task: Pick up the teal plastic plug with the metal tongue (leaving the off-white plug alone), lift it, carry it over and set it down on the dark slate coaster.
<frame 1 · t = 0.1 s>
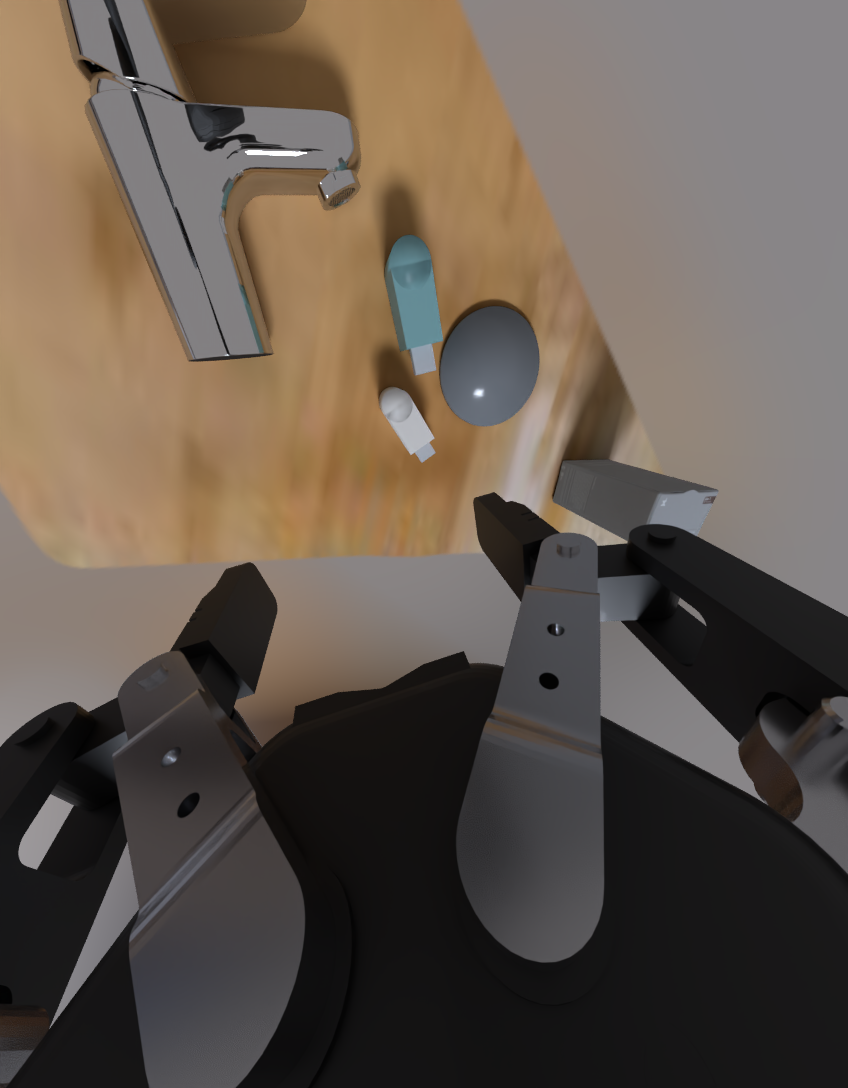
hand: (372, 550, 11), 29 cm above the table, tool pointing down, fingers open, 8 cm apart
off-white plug: (404, 421, 37), on the table
chrome faucet: (263, 217, 27), on the table
skincare box: (580, 477, 46), on the table
teal plug: (409, 313, 32), on the table
slate coaster: (489, 371, 36), on the table
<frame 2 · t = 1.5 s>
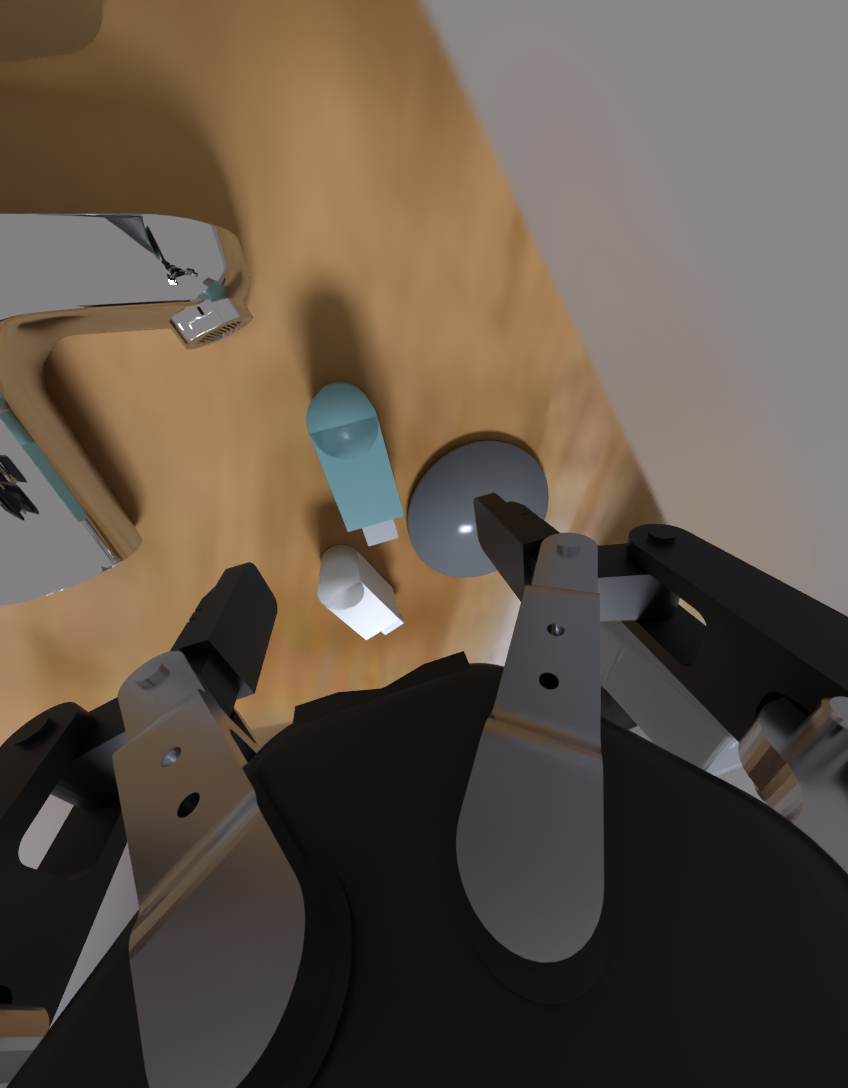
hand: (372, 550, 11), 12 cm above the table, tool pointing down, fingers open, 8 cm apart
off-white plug: (360, 580, 27), on the table
chrome faucet: (103, 351, 16), on the table
skincare box: (597, 609, 36), on the table
teal plug: (358, 458, 21), on the table
slate coaster: (477, 514, 26), on the table
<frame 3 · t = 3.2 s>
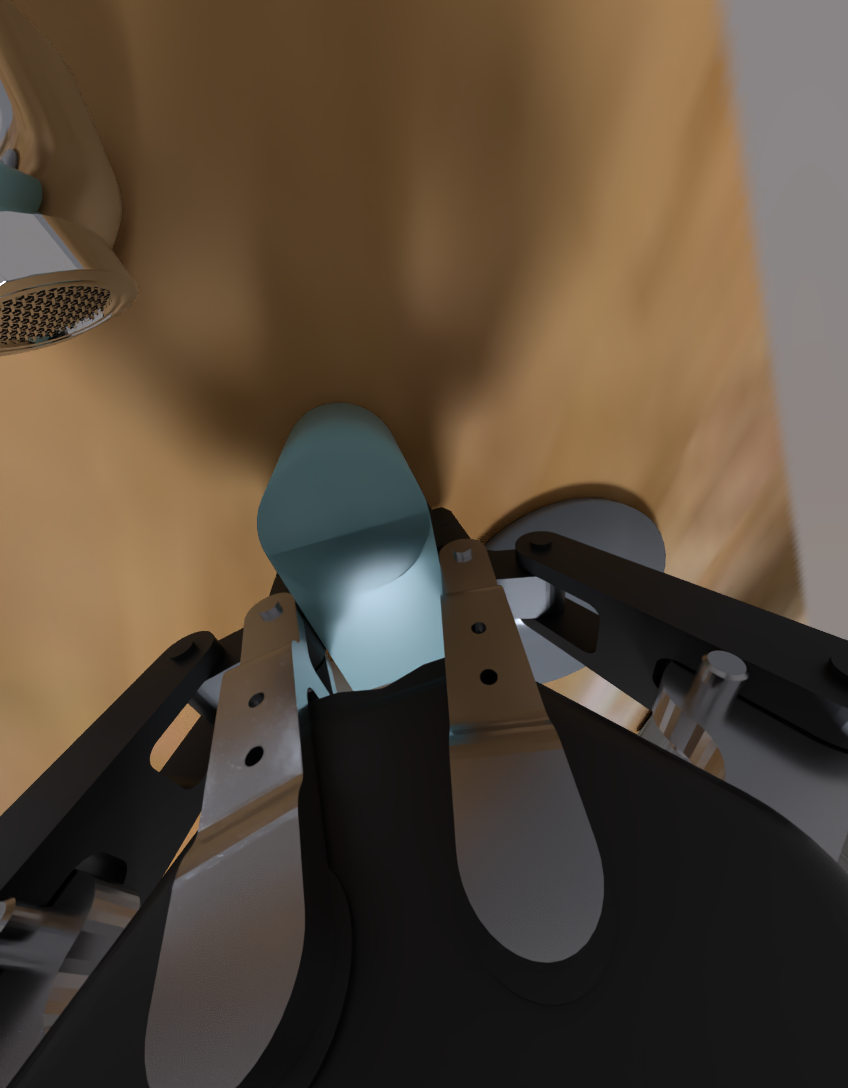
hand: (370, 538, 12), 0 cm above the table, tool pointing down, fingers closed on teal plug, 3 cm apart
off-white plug: (370, 700, 17), on the table
skincare box: (687, 699, 27), on the table
teal plug: (370, 533, 12), on the table, tilted 5°, touching gripper
slate coaster: (553, 602, 17), on the table
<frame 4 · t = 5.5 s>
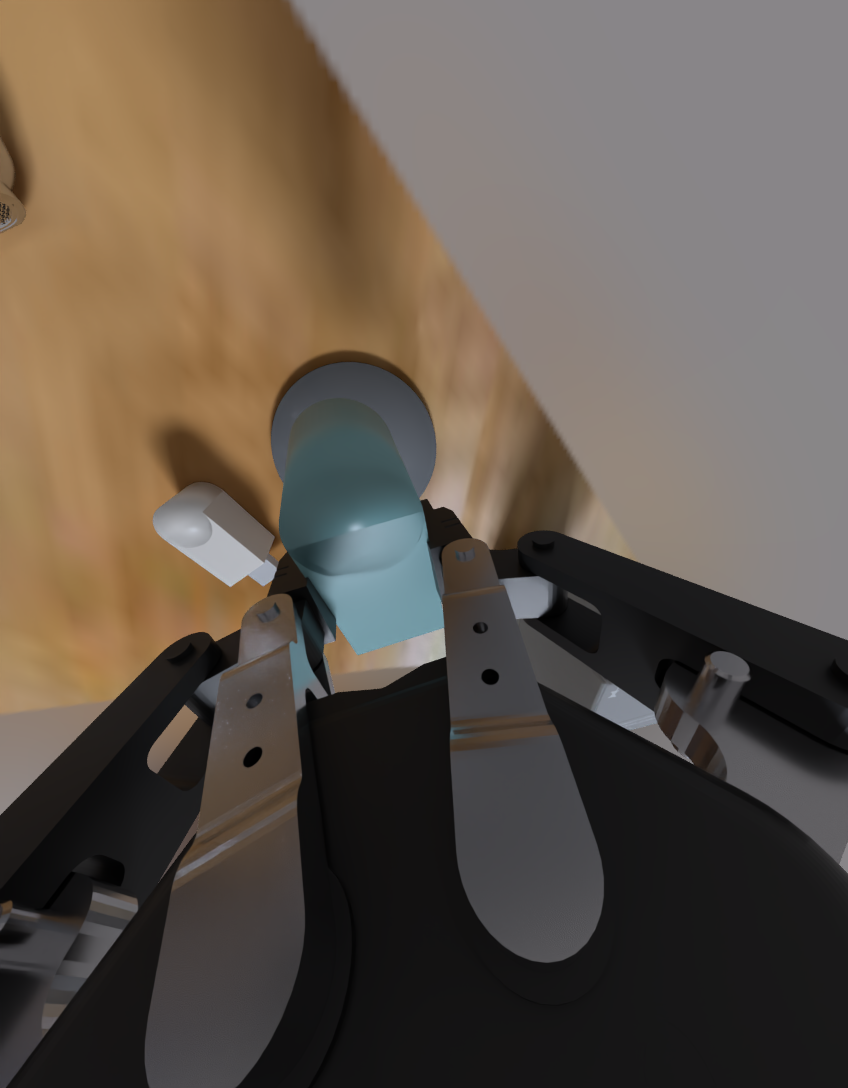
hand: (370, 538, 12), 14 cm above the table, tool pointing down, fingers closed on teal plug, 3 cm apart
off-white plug: (235, 526, 24), on the table
skincare box: (522, 573, 34), on the table
teal plug: (366, 514, 13), point 12 cm above the table, tilted 13°, touching gripper
slate coaster: (358, 452, 24), on the table
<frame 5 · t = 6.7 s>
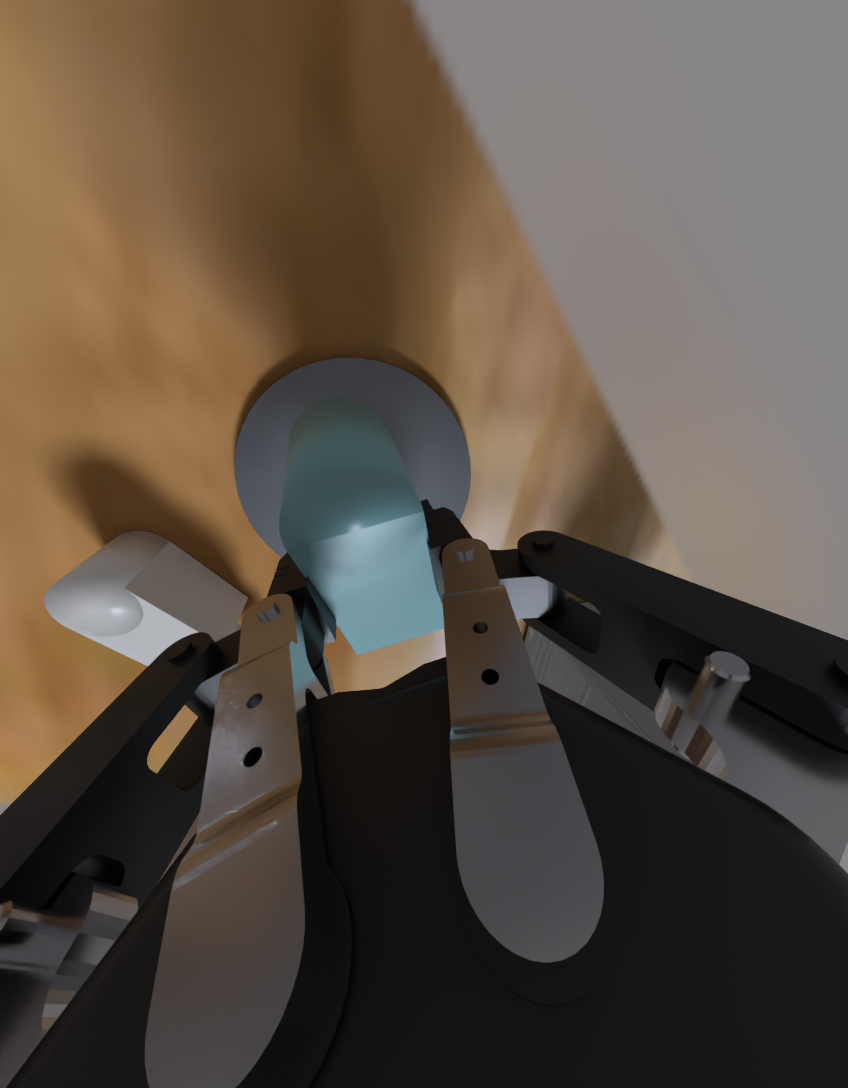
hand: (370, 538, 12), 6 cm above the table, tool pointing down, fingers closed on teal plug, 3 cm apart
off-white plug: (190, 586, 18), on the table
skincare box: (565, 624, 27), on the table
teal plug: (366, 514, 13), point 4 cm above the table, tilted 13°, touching gripper
slate coaster: (362, 485, 17), on the table
when the fingers open (3 cm above the table, at t = 7.8 s): teal plug stays where it is, resting on slate coaster.
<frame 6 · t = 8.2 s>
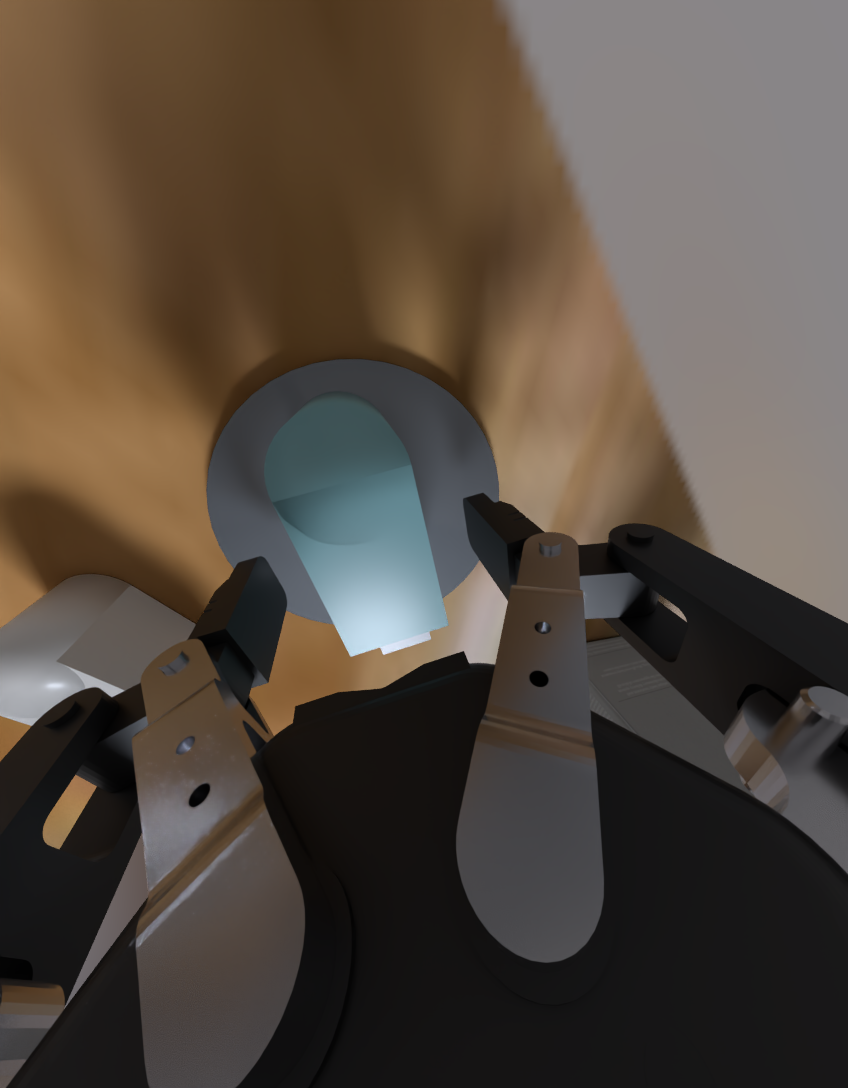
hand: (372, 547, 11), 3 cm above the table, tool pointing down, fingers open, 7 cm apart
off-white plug: (159, 635, 15), on the table
skincare box: (595, 659, 24), on the table
teal plug: (367, 514, 13), point 1 cm above the table, touching slate coaster
slate coaster: (367, 515, 14), on the table
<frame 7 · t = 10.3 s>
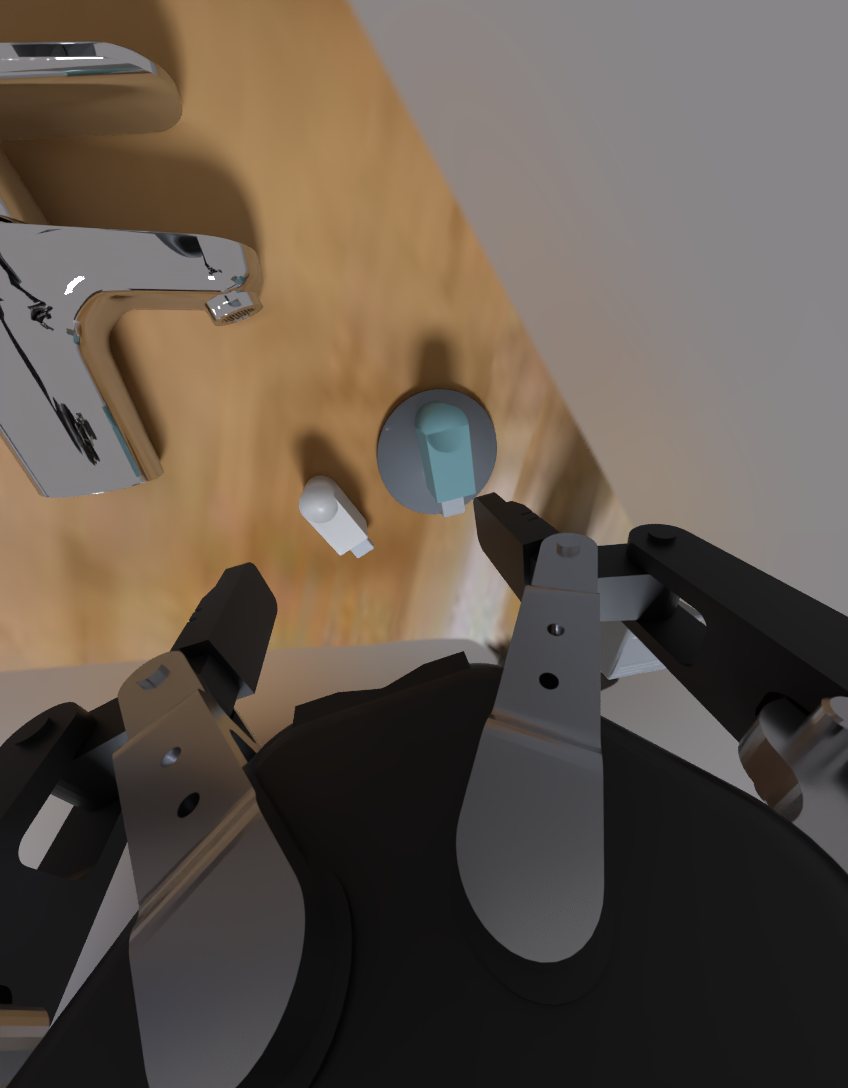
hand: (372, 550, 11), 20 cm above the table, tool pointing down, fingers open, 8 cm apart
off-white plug: (338, 510, 31), on the table
chrome faucet: (151, 325, 22), on the table
skincare box: (552, 559, 41), on the table
teal plug: (439, 454, 30), point 1 cm above the table, touching slate coaster
slate coaster: (437, 456, 31), on the table
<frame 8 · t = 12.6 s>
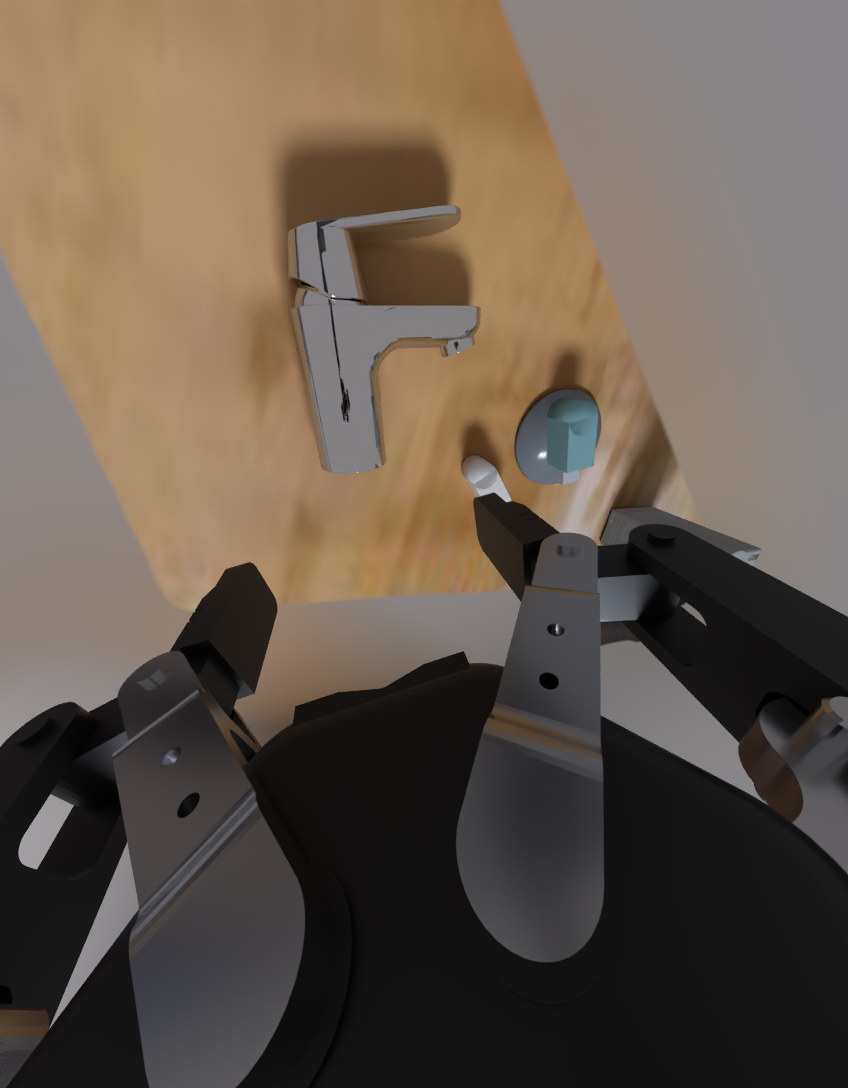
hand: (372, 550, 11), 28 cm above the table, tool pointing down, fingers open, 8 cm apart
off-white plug: (481, 482, 42), on the table
chrome faucet: (389, 355, 33), on the table
skincare box: (625, 521, 51), on the table
teal plug: (559, 437, 41), point 1 cm above the table, touching slate coaster
slate coaster: (556, 439, 41), on the table
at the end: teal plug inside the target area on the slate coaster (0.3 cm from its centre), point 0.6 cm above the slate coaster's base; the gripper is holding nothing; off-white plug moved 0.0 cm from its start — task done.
